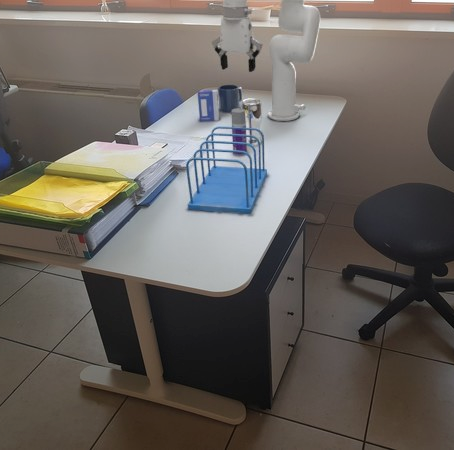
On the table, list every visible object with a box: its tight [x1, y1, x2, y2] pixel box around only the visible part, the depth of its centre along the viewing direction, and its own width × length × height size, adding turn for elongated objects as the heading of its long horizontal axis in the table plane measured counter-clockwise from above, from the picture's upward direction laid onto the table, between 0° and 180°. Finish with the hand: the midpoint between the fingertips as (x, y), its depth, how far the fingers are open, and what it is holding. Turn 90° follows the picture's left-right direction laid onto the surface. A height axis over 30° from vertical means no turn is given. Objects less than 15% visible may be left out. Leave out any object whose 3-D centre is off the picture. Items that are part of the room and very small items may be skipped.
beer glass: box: [241, 98, 263, 147], centre depth 163 cm, size 7×7×15 cm
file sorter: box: [185, 126, 268, 215], centre depth 131 cm, size 25×17×15 cm
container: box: [231, 107, 248, 157], centre depth 155 cm, size 5×5×15 cm
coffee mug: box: [217, 84, 243, 114], centre depth 199 cm, size 12×9×10 cm
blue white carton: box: [197, 89, 220, 122], centre depth 185 cm, size 8×3×12 cm, turn 98°
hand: (238, 69), depth 152 cm, fingers open, 9 cm apart
